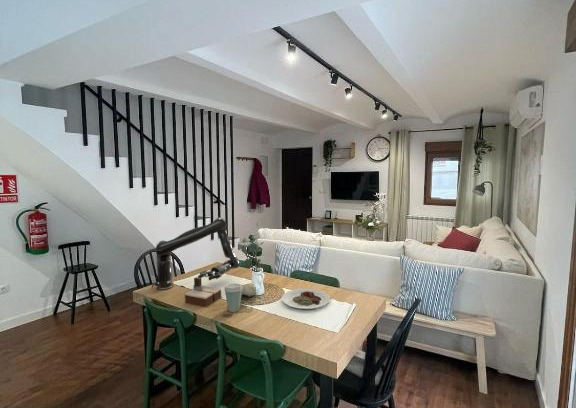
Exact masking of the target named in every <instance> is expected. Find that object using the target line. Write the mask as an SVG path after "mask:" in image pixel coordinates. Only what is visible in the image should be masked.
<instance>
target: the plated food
mask: <svg viewBox="0 0 576 408" xmlns="http://www.w3.org/2000/svg"><path fill="white" fill-rule="evenodd" d="M281 301H282V302H283V304H284V305H286V306H288V307H291V308H293V309H294V308H295V309H300V310H301V309H302V310H312V309H317V308H318V309H319V308H322V307H324V306H326V305H327V304H329V303H330V302H331V297H330V295H329V294H328V293H327V292H325V291H323V290H320V289H314V288H296V289H292V290H289V291H286V292H285V293H283V295H282V297H281Z"/></svg>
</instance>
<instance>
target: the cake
mask: <svg viewBox="0 0 576 408" xmlns="http://www.w3.org/2000/svg"><path fill="white" fill-rule="evenodd" d="M202 286H203V292H202V291H197V290H194V289H191V290H189V291H187V292H186V293H185V292H184V303H185V304H190V305H194V306H199V307H203V308H207V307H208V306H210V305H211V304H213V303H215V302H216V301H218V300H220V299H221V298H222V288H220V287H213V286H209V285H208V286H207V285H202Z"/></svg>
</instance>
